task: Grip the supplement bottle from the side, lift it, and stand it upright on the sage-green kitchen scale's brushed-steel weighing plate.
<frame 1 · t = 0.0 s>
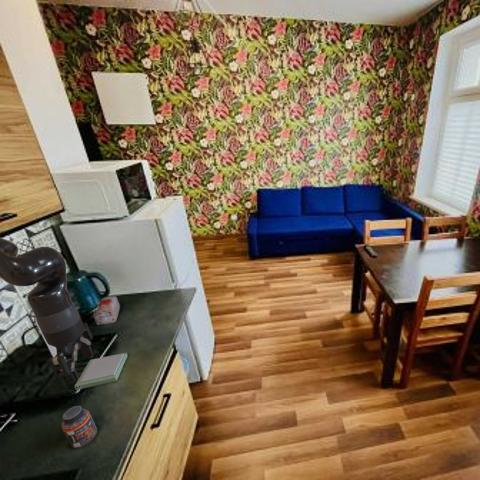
hand: (82, 368, 75), 21 cm above the kitchen counter, tool pointing down, fingers open, 8 cm apart
food item: (110, 318, 127), on the kitchen counter
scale: (104, 373, 99), on the kitchen counter
supplement bottle: (85, 438, 78), on the kitchen counter
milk: (66, 354, 107), on the kitchen counter
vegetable: (63, 332, 118), on the kitchen counter
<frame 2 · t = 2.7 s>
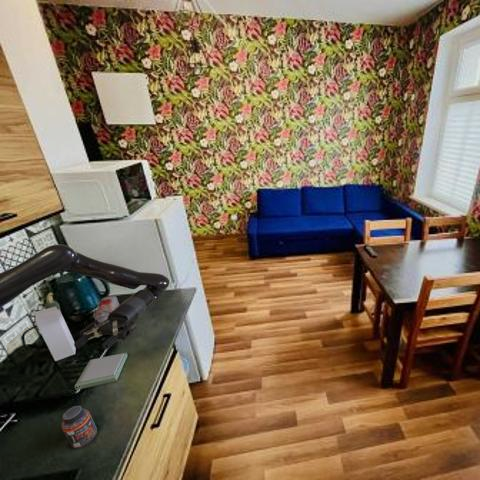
hand: (89, 347, 79), 24 cm above the kitchen counter, tool horizontal, fingers open, 8 cm apart
nothing on the kitchen counter moved.
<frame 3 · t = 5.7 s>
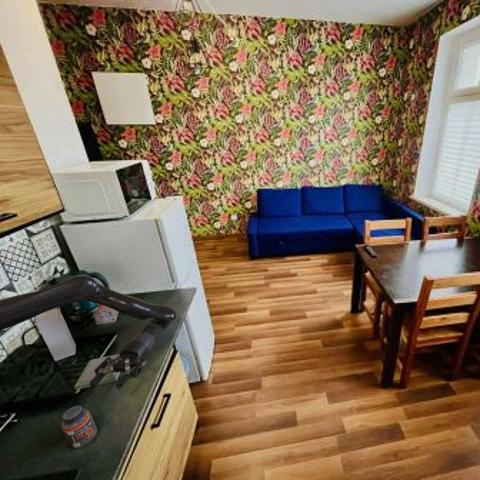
hand: (104, 386, 84), 8 cm above the kitchen counter, tool horizontal, fingers open, 8 cm apart
nothing on the kitchen counter moved.
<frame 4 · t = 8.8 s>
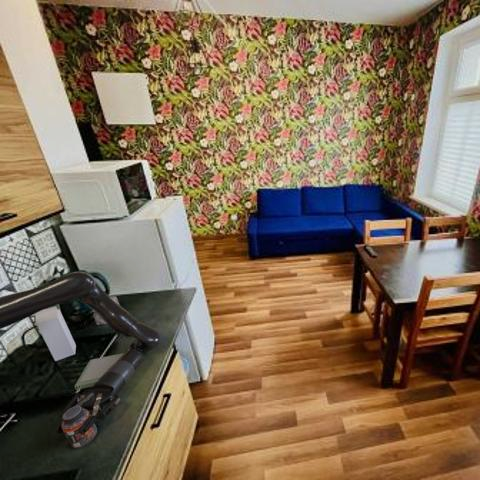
hand: (69, 431, 73), 7 cm above the kitchen counter, tool horizontal, fingers closed on supplement bottle, 6 cm apart
supplement bottle: (85, 438, 78), on the kitchen counter, touching gripper
everything else where it was.
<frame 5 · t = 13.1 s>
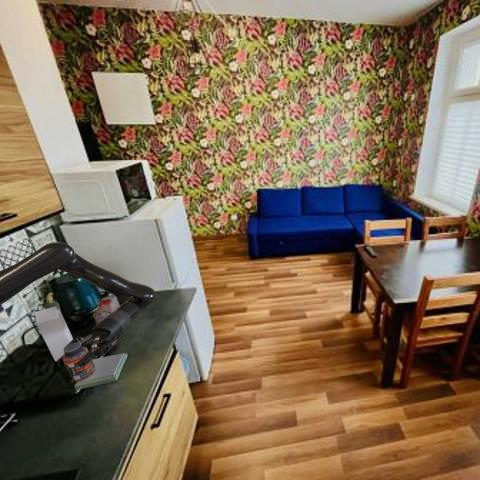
hand: (69, 364, 79), 19 cm above the kitchen counter, tool horizontal, fingers closed on supplement bottle, 6 cm apart
supplement bottle: (85, 374, 84), point 11 cm above the kitchen counter, touching gripper
everything else where it was.
when the fingers open (10 cm above the kitchen counter, at t = 17.6 s): supplement bottle stays where it is, resting on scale.
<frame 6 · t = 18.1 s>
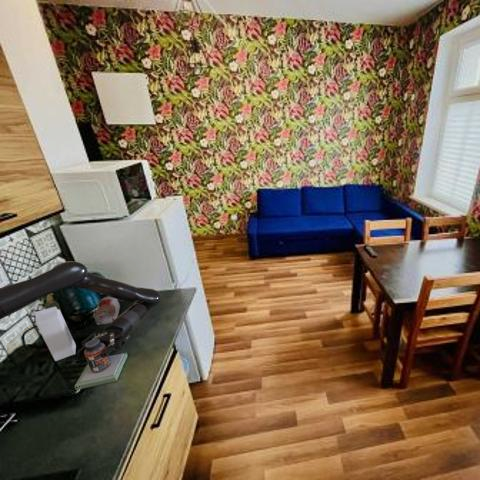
hand: (90, 355, 93), 11 cm above the kitchen counter, tool horizontal, fingers open, 8 cm apart
supplement bottle: (102, 367, 98), point 3 cm above the kitchen counter, touching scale
everything else where it was.
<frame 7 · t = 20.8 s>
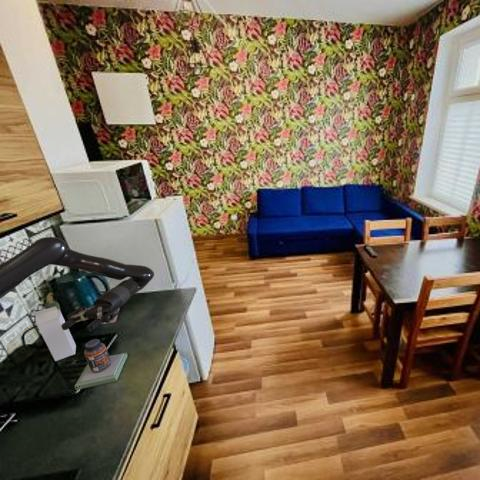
hand: (75, 328, 87), 23 cm above the kitchen counter, tool horizontal, fingers open, 8 cm apart
nothing on the kitchen counter moved.
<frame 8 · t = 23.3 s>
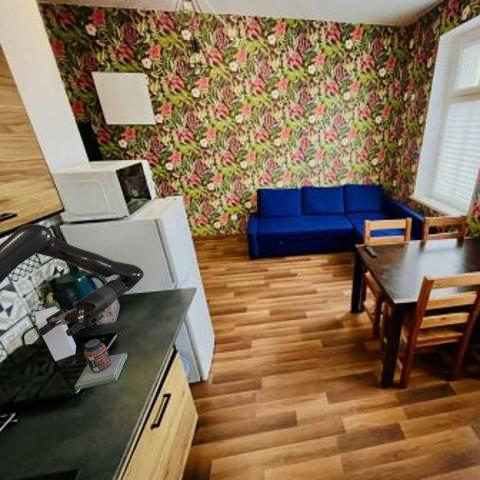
hand: (54, 333, 80), 27 cm above the kitchen counter, tool horizontal, fingers open, 8 cm apart
nothing on the kitchen counter moved.
at the end: supplement bottle inside the target area on the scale (0.1 cm from its centre), point 2.8 cm above the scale's base; supplement bottle tilted 0°; the gripper is holding nothing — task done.
